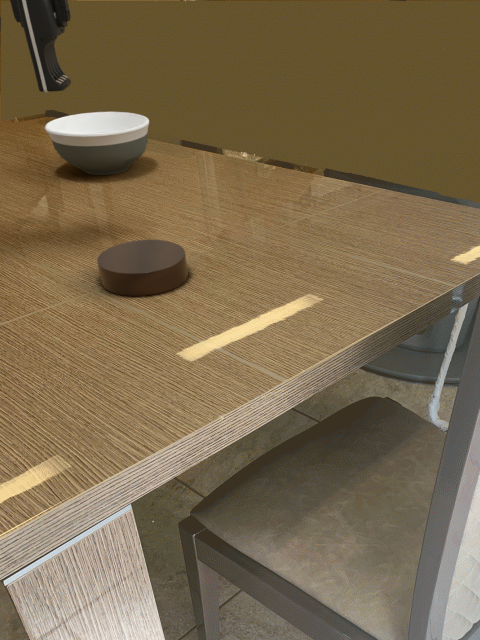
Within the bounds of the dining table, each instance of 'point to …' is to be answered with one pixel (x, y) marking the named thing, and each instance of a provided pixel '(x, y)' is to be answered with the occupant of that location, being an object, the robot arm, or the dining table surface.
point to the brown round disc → (142, 267)
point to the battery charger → (43, 43)
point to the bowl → (100, 140)
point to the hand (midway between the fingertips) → (45, 26)
